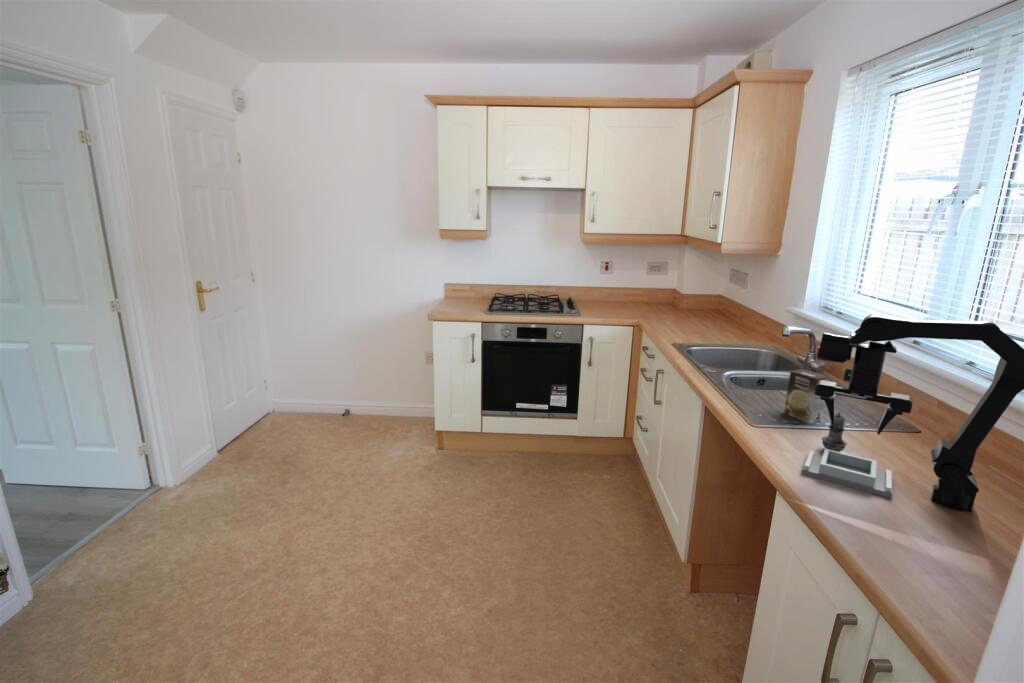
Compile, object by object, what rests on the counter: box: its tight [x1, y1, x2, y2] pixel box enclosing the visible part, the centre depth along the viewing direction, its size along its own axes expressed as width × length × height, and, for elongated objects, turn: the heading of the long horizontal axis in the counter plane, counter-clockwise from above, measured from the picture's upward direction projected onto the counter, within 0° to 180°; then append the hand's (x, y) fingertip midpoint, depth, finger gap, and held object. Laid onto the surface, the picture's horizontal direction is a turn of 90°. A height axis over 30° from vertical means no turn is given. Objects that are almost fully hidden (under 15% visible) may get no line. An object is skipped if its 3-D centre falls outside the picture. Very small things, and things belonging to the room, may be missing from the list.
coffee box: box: [783, 368, 830, 424], centre depth 154 cm, size 9×6×16 cm
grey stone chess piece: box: [821, 412, 848, 452], centre depth 133 cm, size 6×6×12 cm
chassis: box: [801, 448, 893, 499], centre depth 121 cm, size 18×12×4 cm, turn 53°
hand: (854, 428), depth 119 cm, fingers open, 9 cm apart
